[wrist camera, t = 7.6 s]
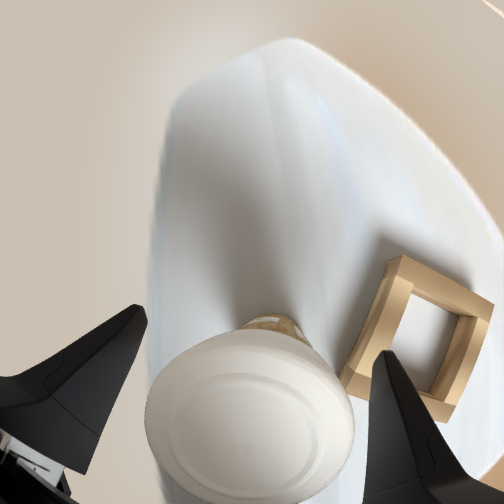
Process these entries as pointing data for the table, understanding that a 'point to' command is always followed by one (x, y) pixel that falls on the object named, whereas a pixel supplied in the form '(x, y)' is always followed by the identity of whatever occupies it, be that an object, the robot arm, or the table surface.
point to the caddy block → (387, 321)
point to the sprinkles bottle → (251, 417)
